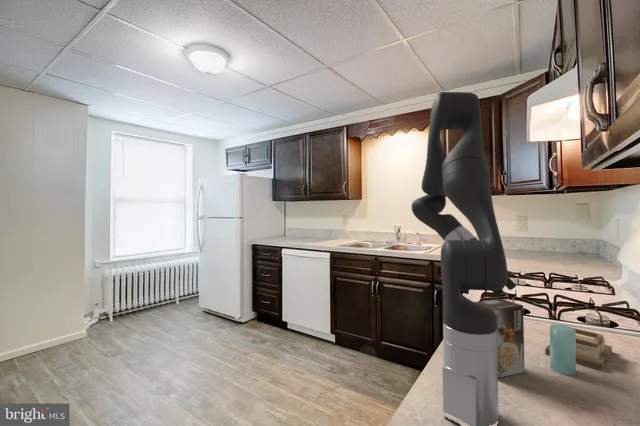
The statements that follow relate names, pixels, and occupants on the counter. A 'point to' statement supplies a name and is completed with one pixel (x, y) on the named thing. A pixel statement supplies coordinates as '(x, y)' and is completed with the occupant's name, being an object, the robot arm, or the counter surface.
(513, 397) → the counter surface
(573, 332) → the teal post
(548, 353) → the base slab
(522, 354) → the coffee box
